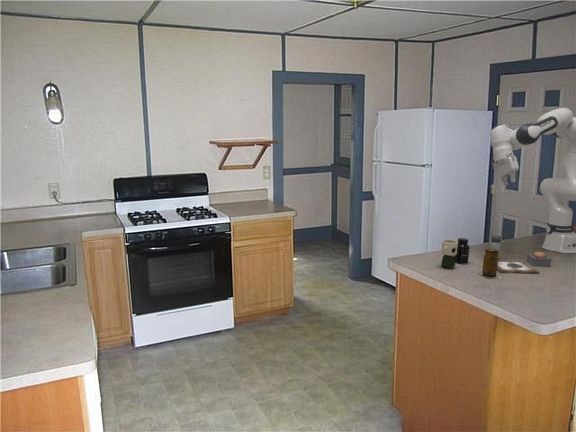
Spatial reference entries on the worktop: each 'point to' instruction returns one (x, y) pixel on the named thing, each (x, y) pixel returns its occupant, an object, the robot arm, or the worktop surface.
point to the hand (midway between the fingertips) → (509, 183)
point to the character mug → (449, 253)
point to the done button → (539, 255)
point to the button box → (538, 260)
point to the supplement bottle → (462, 251)
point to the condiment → (490, 264)
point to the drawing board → (515, 267)
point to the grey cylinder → (496, 243)
